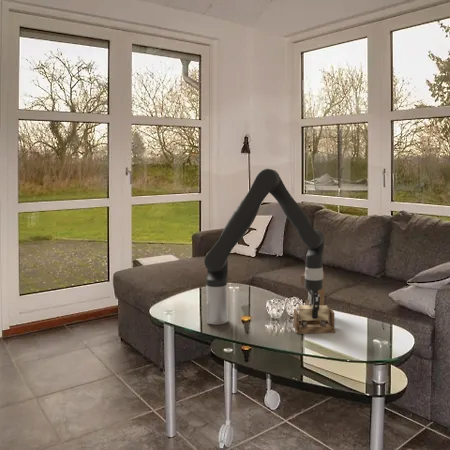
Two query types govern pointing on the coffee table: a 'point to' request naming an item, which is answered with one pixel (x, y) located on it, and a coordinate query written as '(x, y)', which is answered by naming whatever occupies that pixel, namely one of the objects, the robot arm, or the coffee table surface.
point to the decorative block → (321, 292)
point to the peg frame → (314, 324)
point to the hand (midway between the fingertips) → (313, 316)
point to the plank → (306, 312)
